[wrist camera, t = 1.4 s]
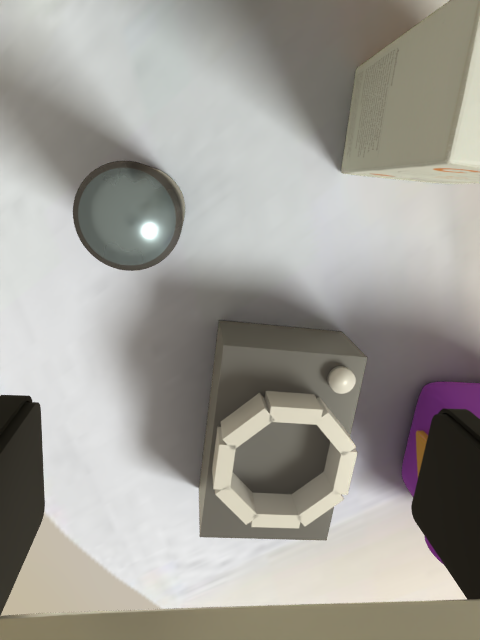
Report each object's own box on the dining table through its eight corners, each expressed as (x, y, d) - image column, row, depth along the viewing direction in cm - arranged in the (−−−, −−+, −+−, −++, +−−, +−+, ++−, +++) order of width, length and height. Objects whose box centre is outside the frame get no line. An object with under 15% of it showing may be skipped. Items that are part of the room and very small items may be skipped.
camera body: (218, 320, 31) (226, 357, 24) (341, 331, 32) (380, 370, 25) (198, 488, 35) (200, 561, 28) (308, 493, 36) (335, 563, 29)
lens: (107, 161, 27) (72, 153, 19) (188, 172, 28) (186, 168, 20) (104, 242, 29) (70, 265, 21) (181, 251, 29) (177, 277, 21)
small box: (475, 81, 28) (699, 0, 16) (452, 185, 30) (637, 187, 17) (352, 65, 27) (488, -35, 15) (337, 174, 29) (445, 168, 16)
